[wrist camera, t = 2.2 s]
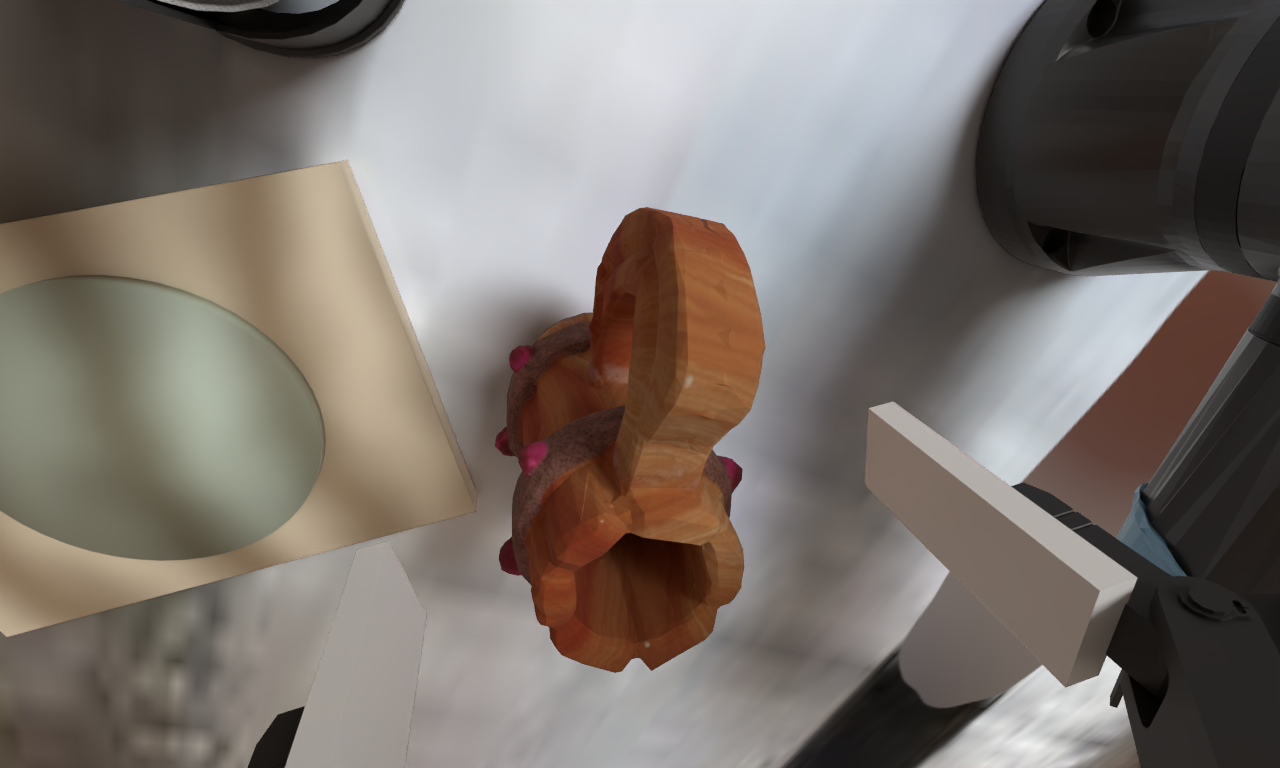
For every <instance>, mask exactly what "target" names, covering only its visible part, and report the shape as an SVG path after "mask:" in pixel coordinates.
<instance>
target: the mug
mask: <svg viewBox="0 0 1280 768" xmlns="http://www.w3.org/2000/svg"><path fill="white" fill-rule="evenodd" d="M764 350H765V341H764V334H763V327H762V320H761V313H760V309H759V305H758V300H757V296H756V291H755V287H754V283H753V279H752V275H751V271H750V267H749V265H748V262H747V260H746V257H745V255H744V253H743V251H742V249H741V247H740V245H739V243H738V241H737V239H736V238H735V236H734V234H733V233H732V232H730V231H729V230H728V229H727V228H726V226H725V225H724V224H722V223H718V222H714V221H709V220H705V219H700V218H697V217H692V216H687V215H682V214H677V213H673V212H668V211H663V210H658V209H653V208H648V207H646V208H639V209H637V210H635V211H633V212H631V213H629V214H628V215H626V216H625V217H624V219H623V220H622V222H621V224H620V225H619V227H618V228H617V230H616V231H615V233H614V234H613V236H612V238H611V240H610V242H609V244H608V246H607V248H606V251H605V253H604V255H603V258H602V262H601V264H600V265H599V267H598V269H597V276H596V285H595V298H594V308H593V313H582V314H579V315H576V316H573V317H570V318H566V319H563V320H561V321H560V322H558V323H556V324H555V325H553V326H551V327H550V328H549V329H547V330H546V331H545V332H544V333H543V334H542V335H541V336H540V337H538V339H537V341H536V343H535V344H534V345H532V346H530V345H527V346H519V347H517V348H515V349H514V350H512V352H511V354H510V359H509V361H510V366H511V368H512V369H513V370H514V373H513V375H512V379H511V383H510V387H509V390H508V394H507V427H505V428H504V429H503V430H502V431H501V432H500V433H499V434H498V435H497V437H496V442H495V446H496V447H497V448H498V449H499V450H500V451H501V452H502V454H503V455H508V456H516V457H517V458H518V459H519V464H520V466H521V468H522V470H523V471H522V473H521V475H520V477H519V478H518V480H517V484H516V488H515V491H514V495H513V504H512V537H511V538H510V539H509V540H507V541H506V542H505V543H504V545H503V546H502V548H501V549H500V555H499V561H500V565H501V570H503V571H505V572H507V573H509V574H513V575H522V576H523V577H524V578H525V579H526V580H527V581H528V582H529V583H530V584H531V586H532V587H531V593H532V598H533V602H534V607H535V613H536V617H537V620H538V621H539V623H540V624H541V625H544V626H548V627H549V629H550V639H551V640H552V642H553V644H554V645H555V647H556V649H557V650H558V651H559V652H560V653H561V655H563V656H565V657H568V658H570V659H572V660H575V661H577V662H580V663H582V664H585V665H589V666H593V667H596V668H600V669H604V670H607V671H611V672H615V673H616V672H621V671H622V670H623V669H624V668H625V667H626V665H627V664H628V663H629V661H630V660H631V659H634V658H641V659H642V660H643V662H644V663H645V664H646V665H647V666H648V667H649V669H650V670H651V671H652V670H654V669H655V668H657V667H659V666H661V665H662V664H664V663H666V662H667V661H669V660H671V659H672V658H674V657H676V656H678V655H679V654H681V653H683V652H684V651H686V650H688V649H690V648H691V647H693V646H695V645H697V644H698V643H700V642H702V641H704V640H705V639H706V638H707V637H708V636H709V635H710V634H711V632H712V631H713V628H714V624H715V619H716V614H717V609H718V608H719V607H720V606H722V605H725V604H728V603H730V602H731V601H732V600H733V599H734V598H735V596H736V595H737V593H738V592H739V590H740V588H741V582H742V576H743V571H744V558H743V549H742V546H741V544H740V541H739V538H738V536H737V534H736V532H735V530H734V528H733V526H732V524H731V522H730V520H729V517H730V509H731V495H732V493H733V491H734V490H735V488H736V487H737V486H738V484H739V483H740V481H741V480H742V468H741V467H740V466H739V465H738V464H736V463H735V462H734V461H733V460H732V459H730V458H727V457H722V456H717V455H716V454H715V453H714V451H713V450H712V448H713V446H714V445H715V444H716V443H717V442H718V441H719V440H720V439H721V438H722V437H724V436H725V435H726V434H727V433H728V432H729V431H730V430H731V429H732V428H733V427H735V426H737V425H738V424H739V423H740V422H741V421H742V420H743V418H744V417H745V416H746V415H747V413H748V412H749V411H750V410H751V407H752V404H753V400H754V397H755V394H756V391H757V388H758V383H759V378H760V372H761V367H762V357H763V353H764Z"/></svg>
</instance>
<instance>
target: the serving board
mask: <svg viewBox="0 0 1280 768" xmlns="http://www.w3.org/2000/svg"><path fill="white" fill-rule="evenodd" d="M476 502H477V492H476V489H475V487H474V484H473V482H472V479H471V477H470V474H469V471H468V469H467V466H466V464H465V461H464V459H463V456H462V453H461V451H460V448H459V446H458V443H457V440H456V438H455V435H454V433H453V430H452V428H451V425H450V422H449V420H448V417H447V415H446V412H445V410H444V407H443V404H442V402H441V399H440V397H439V394H438V392H437V389H436V386H435V384H434V381H433V379H432V376H431V374H430V371H429V368H428V366H427V363H426V361H425V358H424V355H423V353H422V350H421V348H420V345H419V343H418V340H417V337H416V335H415V332H414V330H413V327H412V325H411V322H410V319H409V317H408V314H407V312H406V309H405V307H404V304H403V301H402V299H401V296H400V294H399V291H398V288H397V286H396V283H395V281H394V278H393V276H392V273H391V270H390V268H389V265H388V263H387V260H386V258H385V255H384V252H383V250H382V247H381V245H380V242H379V240H378V237H377V234H376V232H375V229H374V227H373V224H372V221H371V219H370V216H369V214H368V211H367V209H366V206H365V203H364V201H363V198H362V196H361V193H360V191H359V188H358V185H357V183H356V180H355V178H354V175H353V173H352V170H351V167H350V165H349V162H348V160H345V161H339V162H334V163H328V164H323V165H317V166H312V167H307V168H301V169H296V170H290V171H285V172H280V173H274V174H269V175H263V176H258V177H252V178H247V179H242V180H236V181H231V182H225V183H220V184H215V185H209V186H204V187H198V188H193V189H188V190H182V191H177V192H171V193H166V194H160V195H155V196H150V197H144V198H139V199H133V200H128V201H123V202H117V203H112V204H106V205H101V206H95V207H90V208H85V209H79V210H74V211H68V212H63V213H58V214H52V215H47V216H41V217H36V218H31V219H25V220H20V221H14V222H9V223H3V224H0V631H1V632H2V633H3V634H4V635H5V636H6V637H8V636H12V635H16V634H20V633H23V632H27V631H31V630H35V629H38V628H42V627H46V626H50V625H53V624H57V623H61V622H64V621H68V620H72V619H76V618H79V617H83V616H87V615H91V614H94V613H98V612H102V611H106V610H109V609H113V608H117V607H121V606H124V605H128V604H132V603H136V602H139V601H143V600H147V599H151V598H154V597H158V596H162V595H165V594H169V593H173V592H177V591H180V590H184V589H188V588H192V587H195V586H199V585H203V584H207V583H210V582H214V581H218V580H222V579H225V578H229V577H233V576H237V575H240V574H244V573H248V572H252V571H255V570H259V569H263V568H266V567H270V566H274V565H278V564H281V563H285V562H289V561H293V560H296V559H300V558H304V557H308V556H311V555H315V554H319V553H323V552H326V551H330V550H334V549H338V548H341V547H345V546H349V545H353V544H356V543H360V542H364V541H368V540H371V539H375V538H379V537H382V536H386V535H390V534H394V533H397V532H401V531H405V530H409V529H412V528H416V527H420V526H424V525H427V524H431V523H435V522H439V521H442V520H446V519H450V518H454V517H457V516H461V515H465V514H469V513H472V512H476Z"/></svg>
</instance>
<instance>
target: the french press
mask: <svg viewBox="0 0 1280 768" xmlns="http://www.w3.org/2000/svg"><path fill="white" fill-rule="evenodd" d="M118 1H121V2H124V3H128V4H131V5H134V6H138V7H141V8H144V9H148V10H151V11H154V12H157V13H161V14H164V15H167V16H171V17H174V18H177V19H181V20H184V21H187V22H190V23H194V24H197V25H200V26H204V27H207V28H210V29H213V30H215V31H217V32H219V33H220V34H222V35H223V36H225V37H227V38H230V39H232V40H235V41H237V42H239V43H242V44H244V45H246V46H249V47H251V48H253V49H256V50H260V51H264V52H268V53H272V54H277V55H281V56H285V57H294V58H321V57H327V56H332V55H338V54H343V53H345V52H347V51H349V50H352V49H354V48H356V47H358V46H361V45H363V44H365V43H367V42H368V41H369V40H370V39H372V38H373V37H374V36H375V35H377V34H378V33H379V32H381V31H382V30H383V29H384V28H386V26H387V25H388V24H389V22H390V21H391V20H392V18H393V17H394V16H395V15H396V13H397V12H398V11H399V9H400V8H401V7H402V4H403V2H404V0H339V1H338V2H337V3H334V4H332V5H330V6H328V7H325V8H323V9H321V10H318V11H313V12H307V13H301V14H290V13H275V12H272V11H268V10H264V9H260V8H261V7H267V6H269V5H271V4H274V3H276V2H278V1H280V0H118Z"/></svg>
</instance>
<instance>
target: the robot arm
mask: <svg viewBox="0 0 1280 768" xmlns="http://www.w3.org/2000/svg"><path fill="white" fill-rule="evenodd" d="M977 187H978V195H979V201H980V205H981V209H982V213H983V215H984V218H985V221H986V223H987V225H988V227H989V229H990V231H991V233H992V234H993V236H994V238H995V239H996V240H997V242H998V243H999V244H1000V245H1001V246H1002V247H1003V248H1004V249H1005V250H1006V251H1007V252H1008V253H1010V254H1011V255H1013V256H1014V257H1016V258H1017V259H1019V260H1021V261H1023V262H1026V263H1029V264H1032V265H1035V266H1039V267H1043V268H1046V269H1050V270H1054V271H1057V272H1061V273H1065V274H1071V275H1079V276H1104V275H1124V274H1143V273H1163V272H1182V271H1202V270H1222V271H1226V272H1232V273H1237V274H1242V275H1246V276H1251V277H1257V278H1261V279H1266V280H1271V281H1274V282H1277V284H1276V286H1275V288H1274V289H1273V291H1272V293H1271V294H1270V296H1269V297H1268V299H1267V301H1266V302H1265V304H1264V305H1263V307H1262V308H1261V310H1260V312H1259V313H1258V315H1257V316H1256V318H1255V319H1254V321H1253V323H1252V324H1251V325H1250V326H1249V328H1248V329H1247V331H1246V333H1245V334H1244V335H1243V337H1242V339H1241V340H1240V342H1239V343H1238V345H1237V347H1236V348H1235V350H1234V352H1233V353H1232V354H1231V356H1230V358H1229V359H1228V361H1227V362H1226V364H1225V366H1224V367H1223V369H1222V370H1221V372H1220V373H1219V375H1218V377H1217V378H1216V380H1215V381H1214V383H1213V384H1212V386H1211V388H1210V389H1209V391H1208V393H1207V394H1206V396H1205V397H1204V399H1203V400H1202V402H1201V403H1200V405H1199V407H1198V408H1197V410H1196V411H1195V413H1194V414H1193V416H1192V418H1191V419H1190V420H1189V422H1188V423H1187V425H1186V427H1185V428H1184V430H1183V431H1182V433H1181V434H1180V436H1179V437H1178V439H1177V440H1176V442H1175V443H1174V445H1173V447H1172V448H1171V450H1170V451H1169V453H1168V454H1167V456H1166V458H1165V459H1164V460H1163V462H1162V463H1161V465H1160V467H1159V468H1158V470H1157V471H1156V473H1155V474H1154V476H1153V477H1152V479H1151V480H1150V482H1149V483H1142V484H1141V485H1140V486H1139V487H1138V489H1137V490H1136V491H1135V493H1134V498H1133V504H1132V508H1133V509H1132V511H1131V512H1130V514H1129V516H1128V518H1127V520H1126V521H1125V523H1124V525H1123V527H1122V529H1121V530H1120V532H1119V534H1118V536H1117V538H1115V537H1113V536H1112V535H1110V534H1109V533H1108V532H1106V531H1105V530H1103V529H1101V528H1100V527H1099V526H1097V525H1093V524H1092V523H1091V521H1090V520H1089V519H1087V518H1086V517H1084V516H1082V515H1081V514H1080V513H1078V512H1076V513H1075V512H1074V511H1073V509H1072V508H1071V507H1069V506H1068V505H1066V504H1065V503H1063V502H1062V501H1061V500H1059V499H1058V498H1056V497H1055V496H1053V495H1052V494H1050V493H1048V492H1045V491H1043V490H1040V489H1038V488H1036V487H1033V486H1030V485H1028V484H1026V483H1020V484H1017V485H1014V486H1010V485H1008V484H1007V483H1006V482H1004V481H1003V480H1001V479H1000V478H999V477H997V476H996V475H994V474H993V473H992V472H990V471H989V470H988V469H986V468H985V467H983V466H982V465H981V464H979V463H978V462H976V461H975V460H974V459H972V458H971V457H969V456H968V455H967V454H965V453H964V452H963V451H961V450H960V449H958V448H957V447H956V446H954V445H953V444H951V443H950V442H949V441H947V440H946V439H945V438H943V437H942V436H940V435H939V434H938V433H936V432H935V431H933V430H932V429H931V428H929V427H928V426H927V425H925V424H924V423H922V422H921V421H920V420H918V419H917V418H915V417H914V416H913V415H911V414H910V413H909V412H907V411H906V410H904V409H903V408H902V407H900V406H899V405H897V404H896V403H895V402H889V403H886V404H882V405H878V406H875V407H871V408H868V428H867V447H866V467H865V486H866V487H867V488H868V489H869V490H870V491H871V492H872V493H873V494H874V495H875V496H876V497H877V498H878V499H879V500H880V501H881V502H882V503H883V504H884V505H885V506H886V507H887V508H888V509H889V510H890V511H891V512H892V513H893V514H894V515H895V516H896V517H897V518H898V519H899V520H900V521H901V522H902V523H903V524H904V525H905V526H906V527H907V528H908V529H909V530H910V531H911V532H912V533H913V534H914V535H915V536H916V537H917V538H918V539H919V540H920V541H921V542H922V543H923V544H924V545H925V546H926V547H927V548H928V550H929V551H930V552H931V553H932V554H933V555H934V556H935V557H936V558H937V559H938V560H939V561H940V562H941V563H942V564H943V565H944V566H945V567H946V568H947V569H948V570H949V571H950V572H951V573H952V574H953V575H954V576H955V577H956V578H957V579H958V580H959V581H960V582H961V583H962V584H963V585H964V586H965V587H966V588H967V589H968V590H969V591H970V592H971V593H972V594H973V595H974V596H975V597H976V598H977V599H978V600H979V601H980V602H981V603H982V604H983V605H984V606H985V607H986V608H987V609H988V610H989V611H990V612H991V613H992V614H993V615H994V616H995V617H996V618H997V619H998V620H999V621H1000V622H1001V623H1002V624H1003V625H1004V626H1005V627H1006V628H1007V629H1008V630H1009V631H1010V632H1011V633H1012V634H1013V635H1014V636H1015V637H1016V638H1017V639H1018V640H1019V641H1020V642H1021V643H1022V644H1023V645H1024V646H1025V647H1026V648H1027V649H1028V650H1029V651H1030V652H1031V653H1032V654H1033V655H1034V656H1035V657H1036V658H1037V659H1038V660H1039V661H1040V662H1041V663H1042V664H1043V665H1044V666H1045V667H1046V668H1047V669H1048V670H1049V671H1050V672H1051V673H1052V674H1053V675H1054V676H1055V677H1056V678H1057V679H1058V680H1059V681H1060V683H1061V684H1062V685H1063V686H1064V687H1068V686H1071V685H1073V684H1076V683H1079V682H1082V681H1084V680H1087V679H1090V678H1092V677H1095V676H1098V675H1099V673H1100V671H1101V668H1102V666H1103V663H1104V661H1105V658H1106V656H1108V657H1109V658H1111V659H1112V660H1113V661H1114V662H1115V663H1116V664H1117V665H1118V666H1120V667H1121V668H1122V670H1121V672H1120V674H1119V677H1118V679H1117V681H1116V684H1115V686H1114V688H1113V691H1112V693H1111V695H1110V706H1113V707H1116V708H1117V707H1118V705H1119V702H1120V700H1121V698H1122V696H1124V700H1125V705H1126V709H1127V713H1128V717H1129V721H1130V725H1131V729H1132V733H1133V737H1134V741H1135V745H1136V749H1137V753H1138V757H1139V761H1140V766H1141V768H1280V0H1047V1H1046V2H1045V3H1044V5H1043V6H1042V7H1041V8H1040V10H1039V11H1038V12H1037V13H1036V15H1035V16H1034V17H1033V19H1032V20H1031V21H1030V23H1029V24H1028V26H1027V27H1026V28H1025V30H1024V31H1023V33H1022V35H1021V36H1020V38H1019V39H1018V41H1017V42H1016V44H1015V46H1014V48H1013V49H1012V51H1011V53H1010V55H1009V57H1008V58H1007V60H1006V62H1005V64H1004V66H1003V68H1002V71H1001V73H1000V75H999V77H998V79H997V82H996V84H995V87H994V89H993V92H992V95H991V97H990V100H989V103H988V106H987V109H986V113H985V117H984V120H983V125H982V129H981V134H980V140H979V146H978V155H977ZM426 618H427V614H426V612H425V610H424V608H423V606H422V604H421V602H420V601H419V599H418V597H417V595H416V593H415V591H414V589H413V587H412V585H411V583H410V581H409V579H408V577H407V575H406V574H405V572H404V570H403V568H402V566H401V564H400V562H399V560H398V558H397V556H396V554H395V552H394V550H393V548H392V546H391V545H390V543H389V541H387V542H383V543H380V544H376V545H372V546H369V547H365V548H362V549H358V550H357V551H356V554H355V557H354V560H353V563H352V566H351V569H350V572H349V575H348V578H347V581H346V584H345V587H344V590H343V593H342V596H341V599H340V602H339V605H338V608H337V611H336V614H335V617H334V620H333V623H332V626H331V629H330V632H329V636H328V639H327V642H326V645H325V648H324V651H323V654H322V657H321V660H320V663H319V666H318V669H317V672H316V675H315V678H314V681H313V684H312V687H311V690H310V693H309V696H308V699H307V702H306V705H305V706H304V707H301V708H298V709H294V710H291V711H288V712H285V713H282V714H278V715H277V717H276V718H275V719H274V721H273V722H272V724H271V725H270V727H269V728H268V729H267V731H266V732H265V734H264V735H263V736H262V738H261V739H260V741H259V742H258V743H257V745H256V747H255V750H254V752H253V755H252V758H251V760H250V763H249V765H248V768H405V762H406V755H407V748H408V741H409V735H410V728H411V721H412V714H413V707H414V700H415V694H416V687H417V680H418V673H419V666H420V659H421V653H422V646H423V639H424V632H425V625H426Z"/></svg>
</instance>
